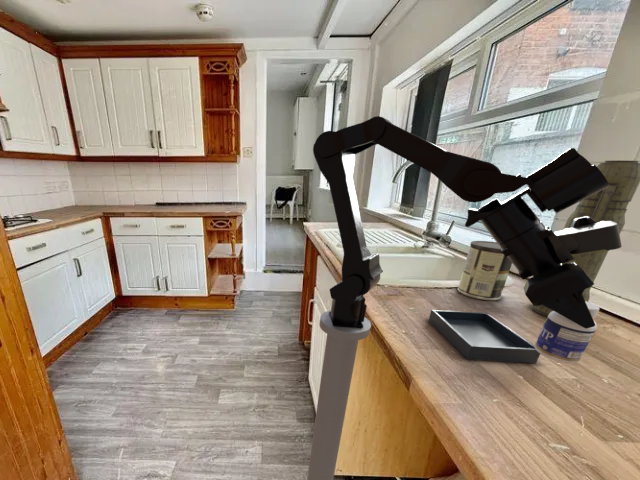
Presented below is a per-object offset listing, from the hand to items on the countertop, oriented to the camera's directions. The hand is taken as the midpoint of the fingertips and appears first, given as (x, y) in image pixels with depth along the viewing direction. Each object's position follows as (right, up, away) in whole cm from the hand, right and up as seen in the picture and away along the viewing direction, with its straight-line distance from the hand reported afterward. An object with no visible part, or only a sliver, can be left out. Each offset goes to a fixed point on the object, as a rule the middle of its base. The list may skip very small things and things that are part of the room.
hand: (586, 320), depth 44 cm
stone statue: (+26, -2, +32) cm, 41 cm away
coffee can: (+15, +3, +42) cm, 45 cm away
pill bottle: (-1, -6, +3) cm, 7 cm away
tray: (-3, -6, +18) cm, 19 cm away
